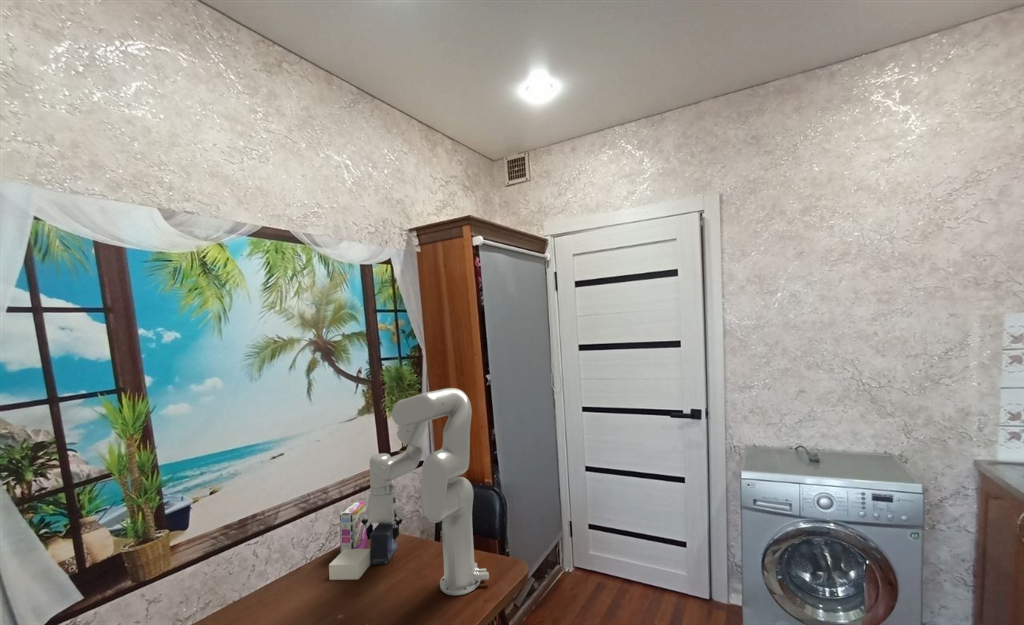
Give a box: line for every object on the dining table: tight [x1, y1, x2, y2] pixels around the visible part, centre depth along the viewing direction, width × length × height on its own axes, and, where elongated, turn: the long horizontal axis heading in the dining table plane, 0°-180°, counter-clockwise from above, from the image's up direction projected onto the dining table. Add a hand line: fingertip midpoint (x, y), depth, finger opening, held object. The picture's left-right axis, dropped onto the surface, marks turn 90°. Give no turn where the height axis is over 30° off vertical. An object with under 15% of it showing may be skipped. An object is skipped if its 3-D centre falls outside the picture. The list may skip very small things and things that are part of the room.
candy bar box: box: [339, 501, 368, 553], centre depth 148 cm, size 11×5×16 cm, turn 174°
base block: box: [328, 547, 371, 581], centre depth 135 cm, size 10×10×5 cm
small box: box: [369, 523, 398, 566], centre depth 143 cm, size 11×6×10 cm, turn 179°
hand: (382, 537), depth 143 cm, fingers open, 9 cm apart
